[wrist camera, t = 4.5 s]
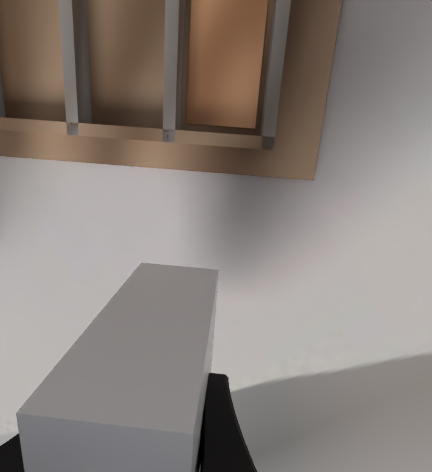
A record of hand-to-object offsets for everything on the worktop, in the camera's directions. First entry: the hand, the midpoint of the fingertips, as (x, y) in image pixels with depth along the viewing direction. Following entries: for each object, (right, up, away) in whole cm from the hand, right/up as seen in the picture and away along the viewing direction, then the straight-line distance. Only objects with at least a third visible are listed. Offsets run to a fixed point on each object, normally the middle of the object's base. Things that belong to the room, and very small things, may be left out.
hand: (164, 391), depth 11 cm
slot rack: (-2, +16, +5) cm, 17 cm away
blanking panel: (0, 0, +2) cm, 2 cm away
